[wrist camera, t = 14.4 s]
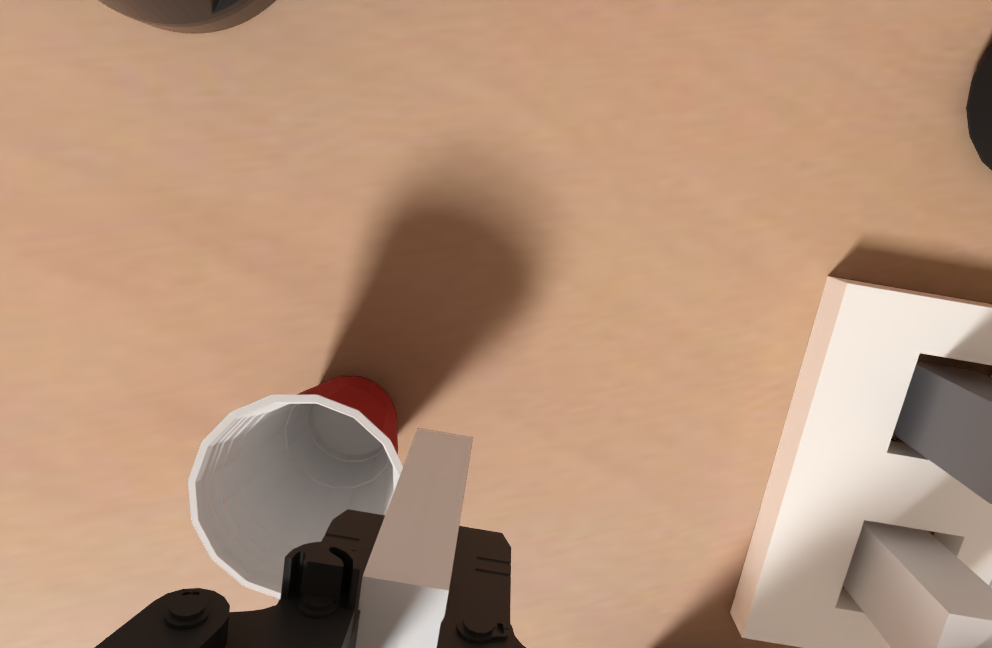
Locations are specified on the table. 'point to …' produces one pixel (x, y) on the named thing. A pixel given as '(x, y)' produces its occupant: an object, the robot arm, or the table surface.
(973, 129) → the coffee jar
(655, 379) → the table surface
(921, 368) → the dark grey block
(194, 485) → the plastic cup
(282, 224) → the table surface
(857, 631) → the white peg board
